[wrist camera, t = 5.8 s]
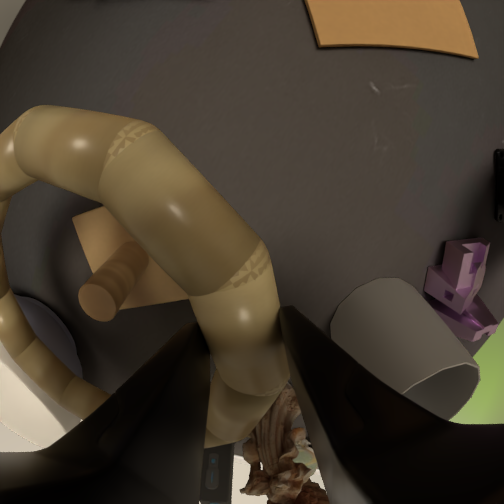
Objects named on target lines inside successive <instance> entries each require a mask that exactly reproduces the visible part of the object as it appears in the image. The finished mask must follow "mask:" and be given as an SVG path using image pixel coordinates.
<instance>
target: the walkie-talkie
mask: <svg viewBox="0 0 504 504" xmlns="http://www.w3.org/2000/svg"><path fill="white" fill-rule="evenodd" d="M234 444H235V442H234V443H229V444H225V445H220V446H215V447H210V448H204V454H203V464H202V474H201V485H200V496H199V501H200V502H201V504H231V495H232V477H233V460H234Z"/></svg>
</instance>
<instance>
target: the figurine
mask: <svg viewBox="0 0 504 504" xmlns="http://www.w3.org/2000/svg"><path fill="white" fill-rule="evenodd" d="M299 414H301V410H300V407H299V404H298V400H297V397H296V394H295V391H294V389H293V388H292V386H291V385H290V384H289V383H288V382H287V384H286V386H285V387H284V389H283V390H282V391H281V393H280V394H279V396H278V397H277V398H276V400H275V401H274V403H273V404H272V405H271V407H270V408H269V409H268V411H267V412H266V413H265V415H264V416H263V417H262V419H261V420H260V421H259V422H258V424H257V425H256V426H255V428H254V429H253V430H252V431H251V433H250V434H249V435H248V436H247V437H248V438H250V439H249V440H248V441H247V442H246V443H243V457H244V460H245V461H247V462H248V463H249V464H250V465H251V468H250V474H249V480H248V482H247V484H246V486H245V488H242V489H240V492H241V493H246V494H247V495H256V496H260V495H267V497H268V501H267V504H330V502H329V499H328V496H327V493H326V491H325V490H324V489H321V488H320V486H319V484H318V483H315V482H311V480H310V478H309V477H310V476H311V474H312V472H313V470H312V469H310V468H308V467H307V466H306V465H305V464H303V463H296V462H294V461H293V459H295V458H297V456H298V455H299V451H298V449H297V447H296V445H295V442H296V441H299V440H304V439H305V438H306V431H305V428H300V427H299V428H294V429H292V430H291V427H292V424H293V422H294V420H295V419H296V418H297V417H298V415H299ZM260 462H262V464H263V470H261V465H260Z"/></svg>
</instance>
